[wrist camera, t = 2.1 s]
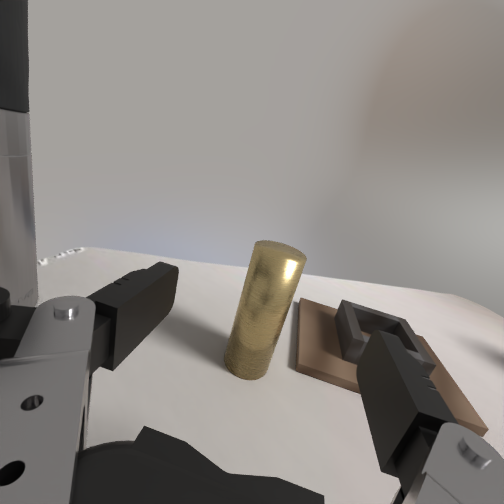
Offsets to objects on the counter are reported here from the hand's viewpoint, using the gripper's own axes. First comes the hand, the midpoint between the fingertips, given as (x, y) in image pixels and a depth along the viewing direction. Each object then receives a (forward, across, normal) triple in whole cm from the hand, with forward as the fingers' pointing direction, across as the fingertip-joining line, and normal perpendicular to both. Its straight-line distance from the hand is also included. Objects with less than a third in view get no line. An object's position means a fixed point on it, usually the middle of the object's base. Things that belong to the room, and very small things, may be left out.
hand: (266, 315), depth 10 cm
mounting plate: (+20, -14, +13) cm, 27 cm away
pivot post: (+12, 0, +13) cm, 17 cm away
